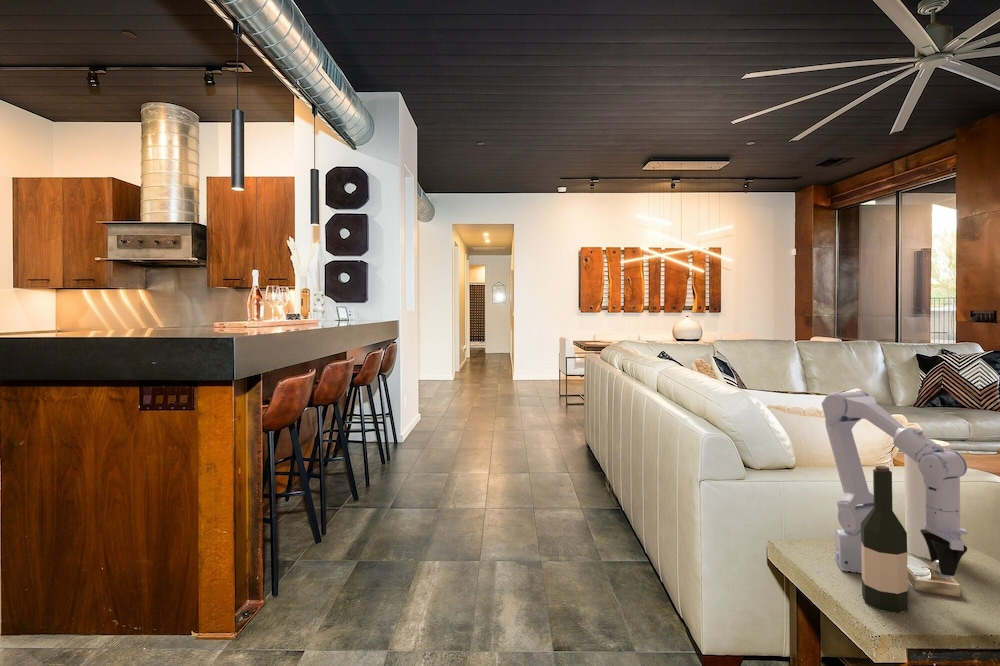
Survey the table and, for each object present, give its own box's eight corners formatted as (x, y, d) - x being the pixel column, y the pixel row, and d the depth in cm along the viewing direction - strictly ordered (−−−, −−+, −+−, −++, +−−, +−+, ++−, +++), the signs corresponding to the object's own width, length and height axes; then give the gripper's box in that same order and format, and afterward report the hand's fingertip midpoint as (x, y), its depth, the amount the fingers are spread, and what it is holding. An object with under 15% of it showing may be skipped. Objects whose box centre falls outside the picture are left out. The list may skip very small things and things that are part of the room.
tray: (915, 590, 122) (915, 579, 121) (903, 574, 129) (903, 564, 129) (960, 596, 119) (960, 585, 118) (944, 579, 126) (944, 569, 126)
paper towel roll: (959, 562, 135) (957, 444, 134) (915, 558, 138) (913, 443, 137) (939, 547, 144) (938, 436, 143) (899, 544, 147) (897, 435, 146)
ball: (936, 580, 113) (934, 560, 113) (929, 574, 117) (928, 555, 117) (959, 583, 112) (958, 563, 112) (951, 577, 115) (950, 558, 116)
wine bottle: (853, 593, 121) (851, 462, 121) (890, 593, 121) (888, 461, 120) (878, 613, 113) (875, 472, 112) (918, 613, 112) (916, 472, 112)
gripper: (982, 521, 106) (982, 588, 106) (951, 498, 119) (951, 558, 120) (938, 517, 108) (939, 583, 109) (913, 495, 122) (913, 554, 122)
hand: (943, 569), depth 114 cm, fingers closed on ball, 4 cm apart
